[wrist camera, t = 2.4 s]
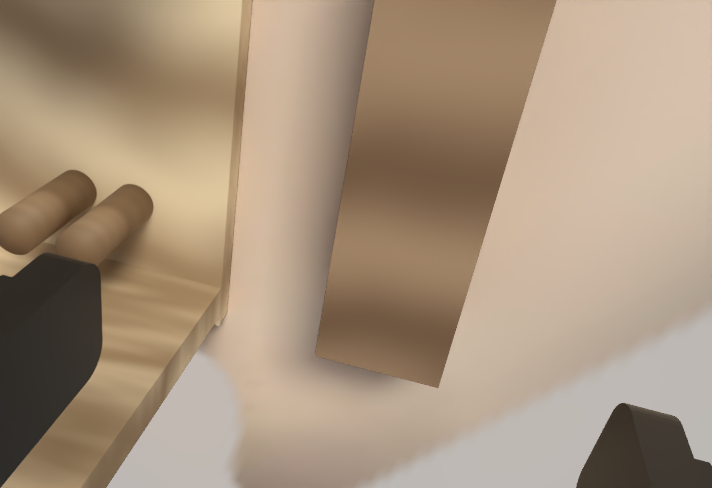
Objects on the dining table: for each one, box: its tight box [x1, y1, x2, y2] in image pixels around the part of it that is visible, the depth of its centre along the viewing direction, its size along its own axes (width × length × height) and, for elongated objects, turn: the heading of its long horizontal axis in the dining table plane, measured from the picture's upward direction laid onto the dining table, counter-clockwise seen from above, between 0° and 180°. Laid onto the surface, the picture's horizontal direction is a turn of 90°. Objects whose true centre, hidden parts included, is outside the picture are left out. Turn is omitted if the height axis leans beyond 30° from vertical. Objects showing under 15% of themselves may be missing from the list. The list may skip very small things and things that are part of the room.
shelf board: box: [315, 0, 556, 388], centre depth 20 cm, size 16×4×5 cm, turn 170°
